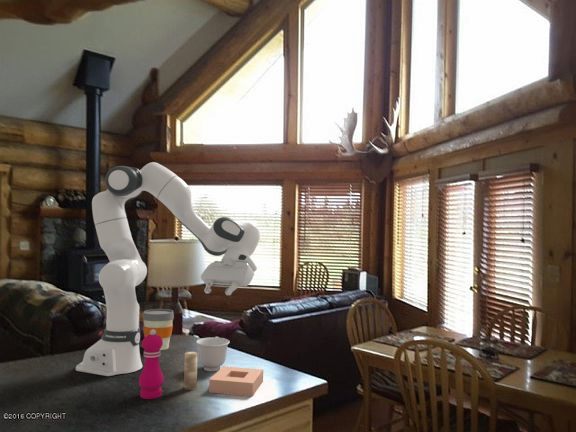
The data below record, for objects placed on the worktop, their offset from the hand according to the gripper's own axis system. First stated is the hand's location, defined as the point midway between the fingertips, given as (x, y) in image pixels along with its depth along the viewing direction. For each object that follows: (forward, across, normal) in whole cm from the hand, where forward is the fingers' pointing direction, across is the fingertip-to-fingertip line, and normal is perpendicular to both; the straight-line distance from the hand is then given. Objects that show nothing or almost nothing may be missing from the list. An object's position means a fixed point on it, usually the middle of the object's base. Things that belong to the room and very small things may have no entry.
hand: (216, 293), depth 164 cm
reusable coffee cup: (+10, -46, +29) cm, 55 cm away
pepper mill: (+37, -5, +2) cm, 38 cm away
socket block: (+23, +10, +18) cm, 31 cm away
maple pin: (+29, 0, +11) cm, 31 cm away
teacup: (+15, -9, +25) cm, 31 cm away
